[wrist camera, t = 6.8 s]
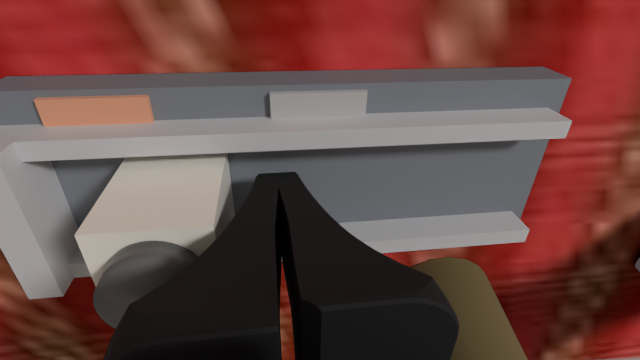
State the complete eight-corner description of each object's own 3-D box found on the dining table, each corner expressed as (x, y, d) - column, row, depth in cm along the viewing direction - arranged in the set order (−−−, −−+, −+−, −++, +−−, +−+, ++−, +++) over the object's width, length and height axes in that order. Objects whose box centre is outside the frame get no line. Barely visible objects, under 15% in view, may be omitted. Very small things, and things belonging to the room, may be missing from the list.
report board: (542, 66, 14) (620, 98, 11) (493, 219, 17) (541, 274, 14) (6, 76, 12) (-82, 119, 9) (78, 248, 15) (33, 321, 12)
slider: (226, 148, 12) (209, 249, 8) (236, 222, 14) (225, 338, 10) (128, 152, 12) (57, 260, 8) (149, 228, 13) (99, 351, 9)
